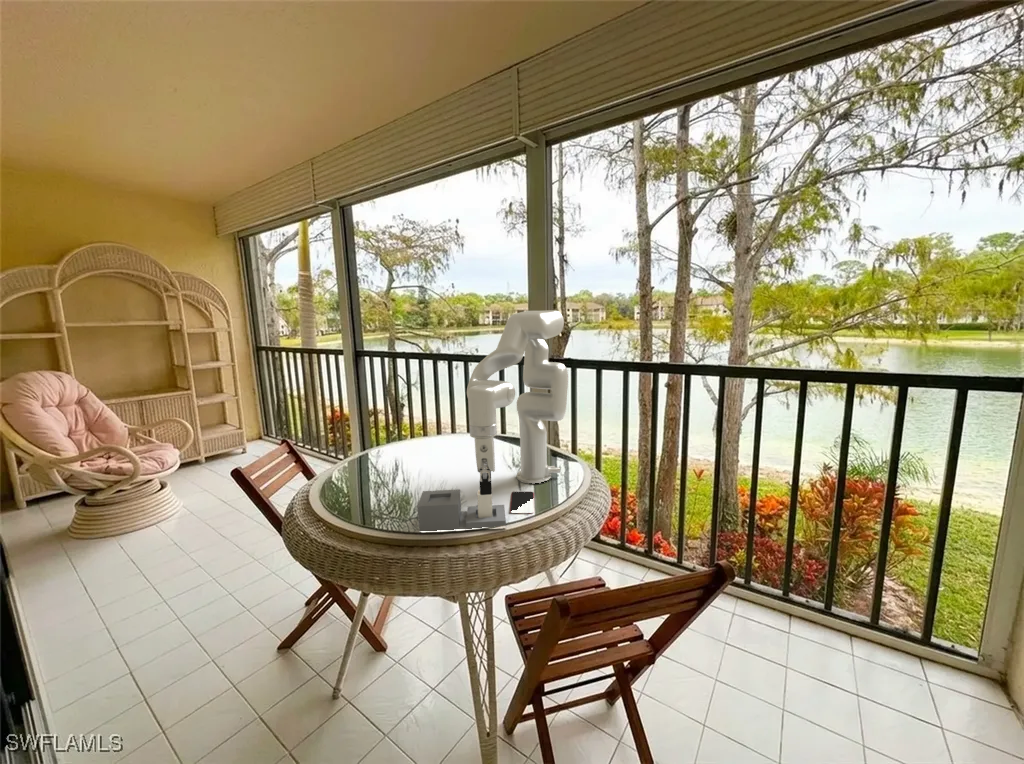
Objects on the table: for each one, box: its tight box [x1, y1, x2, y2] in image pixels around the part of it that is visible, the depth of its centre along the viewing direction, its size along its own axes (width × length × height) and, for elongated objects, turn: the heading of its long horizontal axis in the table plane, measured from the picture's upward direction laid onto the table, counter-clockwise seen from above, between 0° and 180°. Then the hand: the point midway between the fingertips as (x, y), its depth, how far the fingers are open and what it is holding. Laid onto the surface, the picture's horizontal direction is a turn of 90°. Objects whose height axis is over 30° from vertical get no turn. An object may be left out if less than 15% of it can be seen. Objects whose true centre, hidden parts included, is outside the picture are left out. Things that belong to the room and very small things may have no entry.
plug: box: [476, 489, 493, 518], centre depth 121 cm, size 4×3×9 cm
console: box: [417, 489, 507, 532], centre depth 121 cm, size 24×10×8 cm, turn 94°
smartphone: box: [509, 491, 535, 512], centre depth 134 cm, size 7×1×15 cm
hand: (485, 486), depth 121 cm, fingers open, 9 cm apart
